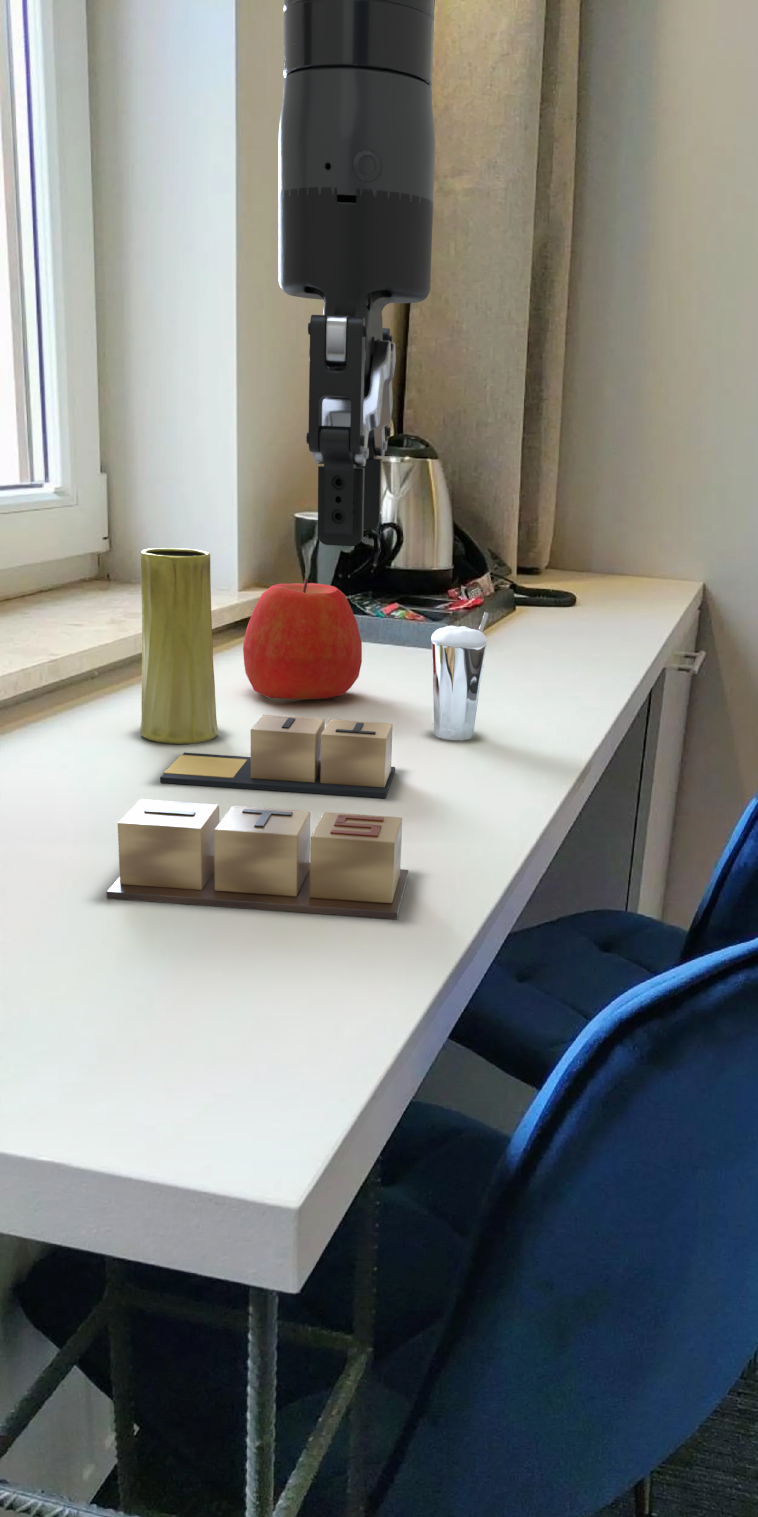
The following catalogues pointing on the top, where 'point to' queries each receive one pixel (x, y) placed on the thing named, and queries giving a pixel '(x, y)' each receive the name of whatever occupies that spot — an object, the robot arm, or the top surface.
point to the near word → (226, 860)
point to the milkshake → (457, 679)
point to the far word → (299, 759)
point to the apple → (302, 643)
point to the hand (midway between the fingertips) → (350, 536)
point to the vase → (177, 647)
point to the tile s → (355, 857)
